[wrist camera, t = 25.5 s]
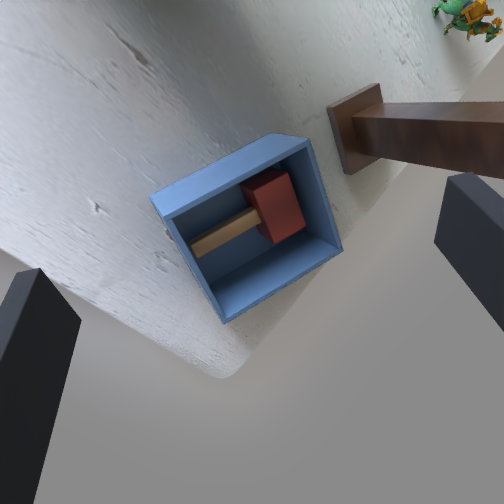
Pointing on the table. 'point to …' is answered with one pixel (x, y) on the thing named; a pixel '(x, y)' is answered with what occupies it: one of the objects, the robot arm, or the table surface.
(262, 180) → the mallet
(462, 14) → the figurine
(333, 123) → the stand
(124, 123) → the table surface
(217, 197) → the tub
